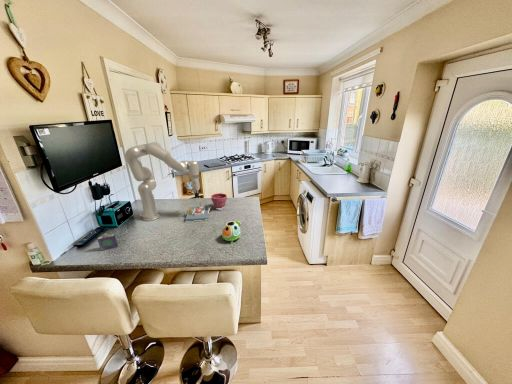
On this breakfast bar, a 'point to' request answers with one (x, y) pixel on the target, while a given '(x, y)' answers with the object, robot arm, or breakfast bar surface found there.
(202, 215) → the panel
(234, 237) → the turtle holder
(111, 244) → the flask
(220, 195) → the plant pot
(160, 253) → the breakfast bar surface
